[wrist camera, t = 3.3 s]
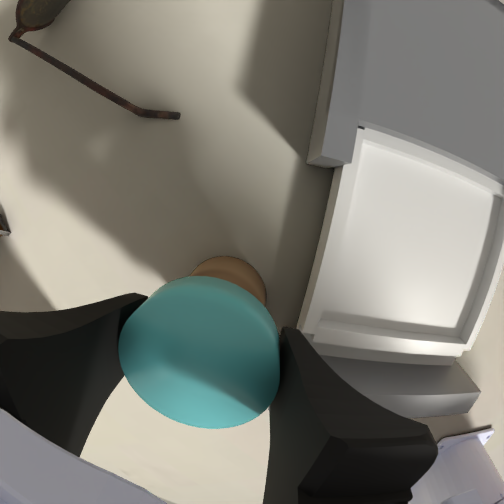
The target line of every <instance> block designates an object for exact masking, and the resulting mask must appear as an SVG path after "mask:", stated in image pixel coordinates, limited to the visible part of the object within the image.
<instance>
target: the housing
mask: <svg viewBox="0 0 504 504" xmlns="http://www.w3.org/2000/svg"><path fill="white" fill-rule="evenodd" d="M358 125H359V126H363V127H366V128H369V129H372V130H375V131H379V132H382V133H385V134H388V135H391V136H393V137H396V138H399V139H402V140H405V141H407V142H410V143H413V144H415V145H418V146H421V147H423V148H426V149H428V150H431V151H433V152H435V153H438V154H440V155H442V156H445V157H447V158H449V159H452V160H454V161H456V162H458V163H460V164H462V165H465V166H467V167H469V168H471V169H473V170H475V171H477V172H479V173H481V174H483V175H485V176H487V177H489V178H491V179H492V180H494V181H496V182H498V183H500V184H502V185H503V186H504V4H502V3H501V2H500V1H499V0H333V2H332V10H331V17H330V24H329V31H328V38H327V45H326V52H325V58H324V64H323V71H322V77H321V83H320V89H319V95H318V100H317V106H316V112H315V117H314V123H313V128H312V134H311V139H310V145H309V150H308V155H307V160H306V164H310V165H314V166H319V167H323V168H331V167H336V166H341V165H346V164H351V163H352V158H353V152H354V147H355V141H356V135H357V129H358Z"/></svg>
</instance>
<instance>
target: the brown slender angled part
mask: <svg viewBox="0 0 504 504" xmlns="http://www.w3.org/2000/svg"><path fill="white" fill-rule="evenodd" d="M10 233H11V232H9V231H8V229H7V228H6V226H5V224H4V222H3V221H2V219H1V214H0V237H1V236H2V235H7V236H9V234H10Z"/></svg>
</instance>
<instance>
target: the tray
mask: <svg viewBox="0 0 504 504" xmlns="http://www.w3.org/2000/svg"><path fill="white" fill-rule="evenodd" d="M503 265H504V186H503V185H502V184H500V183H498V182H496V181H494V180H492V179H491V178H489V177H487V176H485V175H483V174H481V173H479V172H477V171H475V170H473V169H471V168H469V167H467V166H465V165H462V164H460V163H458V162H456V161H454V160H452V159H449V158H447V157H445V156H442V155H440V154H438V153H435V152H433V151H431V150H428V149H426V148H423V147H421V146H418V145H415V144H413V143H410V142H407V141H405V140H402V139H399V138H396V137H393V136H391V135H388V134H385V133H382V132H379V131H375V130H372V129H369V128H366V127H363V126H359V125H358V129H357V135H356V141H355V147H354V152H353V158H352V163H351V164H346V165H341V166H336V167H335V170H334V175H333V180H332V185H331V189H330V194H329V199H328V204H327V208H326V213H325V217H324V222H323V226H322V230H321V235H320V239H319V243H318V247H317V251H316V255H315V259H314V263H313V267H312V271H311V275H310V279H309V283H308V287H307V290H306V294H305V298H304V302H303V305H302V309H301V312H300V316H299V319H298V323H297V326H296V329H299V330H300V331H301V333H302V334H303V335H304V336H305V338H306V339H307V340H308V342H309V343H310V344H311V346H312V347H313V348H314V349H315V351H316V352H317V353H318V354H319V355H320V357H321V358H322V359H323V360H324V361H325V362H326V363H327V364H328V365H329V366H330V367H331V368H332V369H333V371H334V372H335V373H336V374H338V375H339V376H340V377H341V378H342V379H343V380H344V381H346V382H347V383H348V384H349V385H350V386H352V387H353V388H354V389H356V390H357V391H358V392H360V393H361V394H363V395H364V396H366V397H367V398H369V399H370V400H372V401H373V402H375V403H377V404H379V405H380V406H382V407H384V408H386V409H388V410H390V411H392V412H394V413H396V414H398V415H400V416H403V417H405V418H422V417H436V416H446V415H455V414H463V413H468V412H469V410H470V409H471V407H472V406H473V404H474V403H475V401H476V400H477V398H478V396H479V395H480V393H481V391H480V390H479V388H478V387H477V386H476V385H475V383H474V382H473V381H472V380H471V378H470V377H469V376H468V375H467V373H466V372H465V371H464V370H463V369H462V367H461V366H460V365H459V364H458V363H457V361H456V360H455V358H456V356H461V354H462V352H463V350H466V351H470V350H471V348H472V345H473V343H474V341H475V339H476V337H477V335H478V333H479V330H480V328H481V326H482V323H483V321H484V319H485V316H486V314H487V311H488V309H489V306H490V303H491V301H492V298H493V295H494V293H495V290H496V287H497V284H498V281H499V278H500V275H501V271H502V268H503ZM279 340H280V339H279ZM268 410H269V407H268Z"/></svg>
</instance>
